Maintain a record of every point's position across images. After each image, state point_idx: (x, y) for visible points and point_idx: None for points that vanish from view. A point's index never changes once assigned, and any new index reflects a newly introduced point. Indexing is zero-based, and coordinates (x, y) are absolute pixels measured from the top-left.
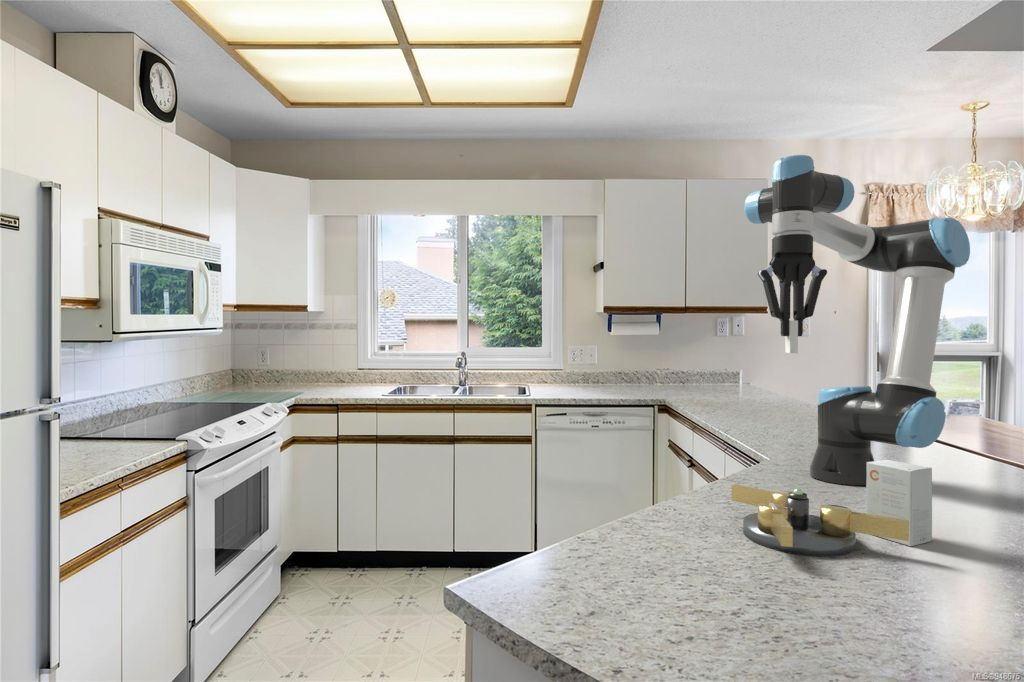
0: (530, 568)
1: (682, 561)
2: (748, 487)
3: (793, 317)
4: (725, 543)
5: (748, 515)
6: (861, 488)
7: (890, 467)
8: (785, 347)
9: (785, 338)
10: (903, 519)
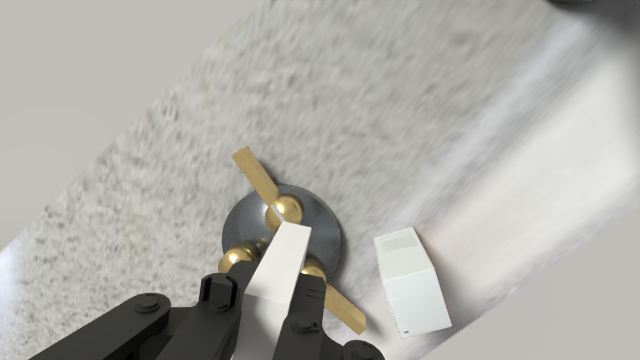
0: (3, 279)
1: (138, 283)
2: (251, 170)
3: (283, 325)
4: (196, 245)
5: (242, 200)
6: (551, 20)
7: (392, 314)
8: (278, 231)
9: (269, 247)
10: (362, 325)
